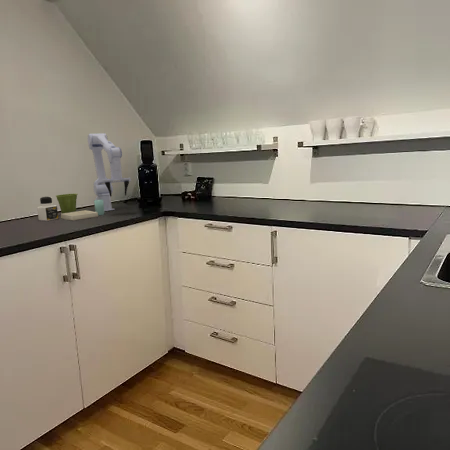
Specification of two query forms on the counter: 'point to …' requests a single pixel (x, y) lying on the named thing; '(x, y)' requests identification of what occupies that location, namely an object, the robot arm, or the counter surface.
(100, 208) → the pale teal cylinder
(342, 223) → the counter surface
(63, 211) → the plant pot
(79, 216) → the cream tray
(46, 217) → the medicine bottle
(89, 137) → the robot arm
